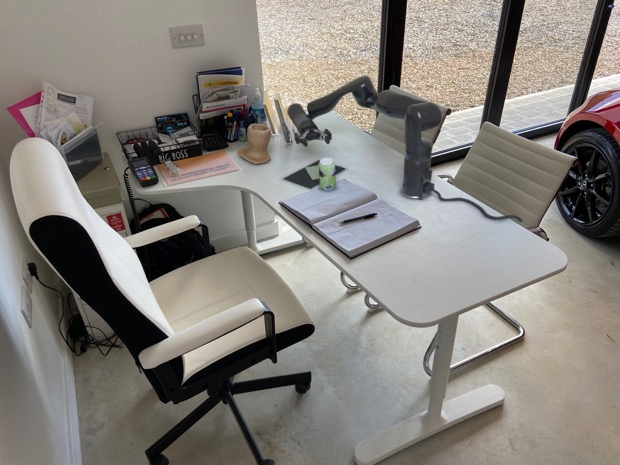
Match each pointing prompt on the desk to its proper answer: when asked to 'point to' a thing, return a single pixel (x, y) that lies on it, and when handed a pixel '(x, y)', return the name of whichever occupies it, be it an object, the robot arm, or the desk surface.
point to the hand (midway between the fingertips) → (317, 143)
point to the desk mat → (309, 175)
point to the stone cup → (256, 144)
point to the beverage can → (327, 174)
